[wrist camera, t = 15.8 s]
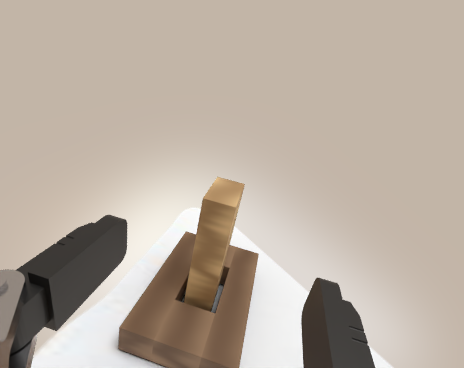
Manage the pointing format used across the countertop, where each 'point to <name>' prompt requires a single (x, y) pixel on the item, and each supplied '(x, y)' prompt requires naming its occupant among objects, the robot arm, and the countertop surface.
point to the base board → (191, 314)
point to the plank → (212, 242)
